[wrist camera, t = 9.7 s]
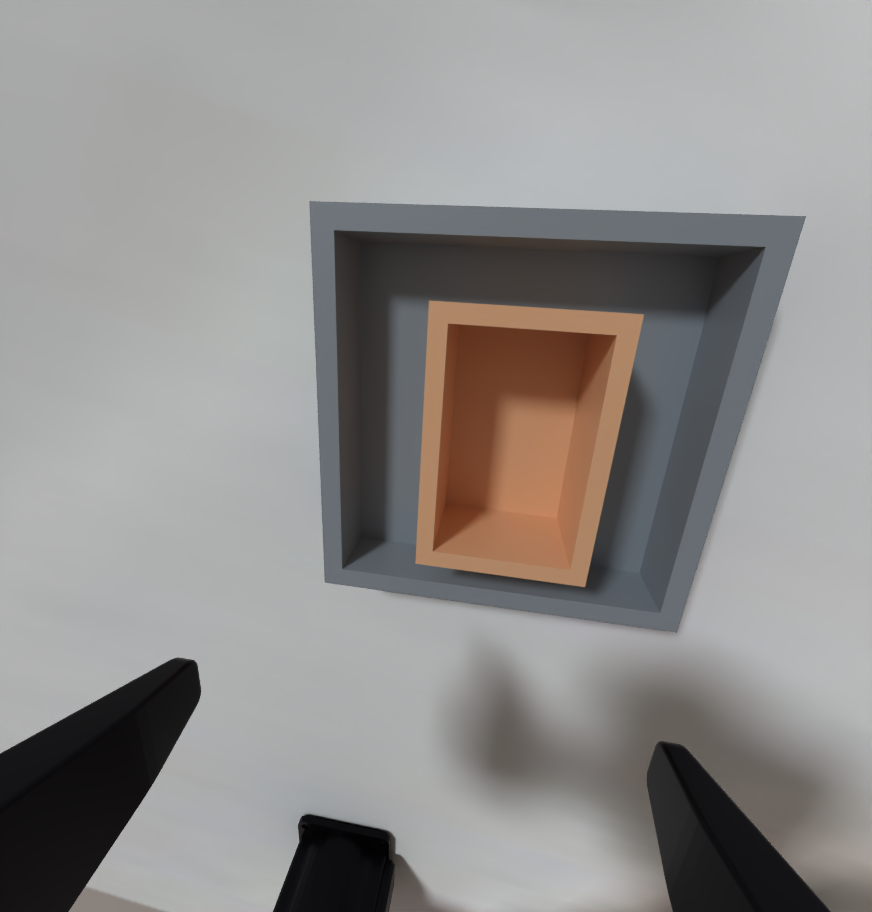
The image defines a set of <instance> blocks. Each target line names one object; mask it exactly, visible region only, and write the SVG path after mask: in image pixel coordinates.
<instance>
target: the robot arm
mask: <svg viewBox="0 0 872 912" xmlns="http://www.w3.org/2000/svg"><path fill="white" fill-rule="evenodd" d="M200 695H201V686H200V679H199V672H198V665H197V663H196V662H195V661H194V660H190V659H185V658H174V659H171V660H169V661H168V662H166V663H164V664H162V665H160V666H159V667H157V668H155V669H153V670H151V671H149V672H148V673H146V674H144V675H142V676H140V677H139V678H137V679H135V680H133V681H131V682H129V683H128V684H126V685H124V686H122V687H120V688H119V689H117V690H115V691H113V692H111V693H109V694H108V695H106V696H104V697H102V698H100V699H99V700H97V701H95V702H93V703H91V704H89V705H88V706H86V707H84V708H82V709H80V710H79V711H77V712H75V713H73V714H71V715H69V716H68V717H66V718H64V719H62V720H60V721H59V722H57V723H55V724H53V725H51V726H49V727H48V728H46V729H44V730H42V731H40V732H39V733H37V734H35V735H33V736H31V737H30V738H28V739H26V740H24V741H22V742H20V743H19V744H17V745H15V746H13V747H11V748H10V749H8V750H6V751H4V752H2V753H0V912H68V911H69V910H70V908H71V907H72V905H73V904H74V902H75V901H76V899H77V898H78V896H79V895H80V893H81V892H82V890H83V889H84V887H85V886H86V884H87V883H88V881H89V880H90V878H91V877H92V875H93V874H94V872H95V871H96V869H97V868H98V866H99V865H100V863H101V862H102V860H103V859H104V857H105V856H106V854H107V853H108V851H109V850H110V848H111V847H112V845H113V844H114V842H115V841H116V839H117V838H118V836H119V835H120V833H121V832H122V830H123V829H124V827H125V826H126V824H127V823H128V821H129V820H130V818H131V817H132V815H133V814H134V812H135V811H136V809H137V808H138V806H139V805H140V803H141V802H142V800H143V799H144V797H145V796H146V794H147V792H148V791H149V789H150V788H151V786H152V784H153V783H154V781H155V779H156V778H157V776H158V774H159V773H160V771H161V769H162V767H163V765H164V764H165V762H166V760H167V758H168V756H169V755H170V753H171V751H172V749H173V747H174V746H175V744H176V742H177V740H178V738H179V737H180V735H181V733H182V731H183V729H184V728H185V726H186V724H187V722H188V720H189V719H190V717H191V715H192V713H193V711H194V710H195V708H196V706H197V704H198V702H199V699H200ZM647 787H648V792H649V797H650V803H651V808H652V813H653V818H654V823H655V828H656V834H657V839H658V844H659V849H660V854H661V859H662V865H663V870H664V875H665V880H666V885H667V889H668V894H669V898H670V902H671V906H672V910H673V912H831V911H830V910H829V909H828V908H827V907H826V905H825V904H824V903H823V902H822V901H821V900H820V899H819V898H818V896H817V895H816V894H815V893H814V892H813V891H812V890H811V889H810V887H809V886H808V885H807V884H806V883H805V882H804V881H803V880H802V878H801V877H800V876H799V875H798V874H797V873H796V872H795V870H794V869H793V868H792V867H791V866H790V865H789V864H788V863H787V861H786V860H785V859H784V858H783V857H782V856H781V855H780V854H779V852H778V851H777V850H776V849H775V848H774V847H773V846H772V845H771V843H770V842H769V841H768V840H767V839H766V838H765V837H764V835H763V834H762V833H761V832H760V831H759V830H758V829H757V828H756V826H755V825H754V824H753V823H752V822H751V821H750V820H749V819H748V817H747V816H746V815H745V814H744V813H743V812H742V811H741V810H740V808H739V807H738V806H737V805H736V804H735V803H734V802H733V800H732V799H731V798H730V797H729V796H728V795H727V794H726V793H725V791H724V790H723V789H722V788H721V787H720V786H719V785H718V784H717V782H716V781H715V780H714V779H713V778H712V777H711V776H710V775H709V773H708V772H707V771H706V770H705V769H704V768H703V767H702V766H701V764H700V763H699V762H698V761H697V760H696V759H695V758H694V756H693V755H692V754H691V753H690V752H689V751H688V750H687V749H686V748H685V747H684V746H682V745H680V744H675V743H669V742H664V741H660V742H658V743H657V744H656V746H655V749H654V753H653V756H652V759H651V762H650V765H649V769H648V772H647ZM298 830H299V841H300V842H299V844H298V847H297V850H296V852H295V855H294V858H293V860H292V863H291V865H290V868H289V871H288V873H287V876H286V879H285V881H284V884H283V887H282V889H281V892H280V894H279V897H278V900H277V902H276V905H275V908H274V910H273V912H389V908H390V903H391V898H392V892H393V887H394V868H395V865H394V863H393V861H392V860H390V836H389V834H387V833H385V832H381V831H376V830H372V829H367V828H362V827H358V826H353V825H348V824H343V823H339V822H334V821H329V820H325V819H320V818H315V817H310V816H302V817H301V819H300V821H299V824H298Z"/></svg>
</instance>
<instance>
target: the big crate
mask: <svg viewBox="0 0 872 912" xmlns="http://www.w3.org/2000/svg"><path fill="white" fill-rule="evenodd" d="M309 202H310V227H311V252H312V276H313V301H314V326H315V350H316V375H317V400H318V424H319V449H320V474H321V498H322V523H323V548H324V573H325V582H326V583H333V584H340V585H347V586H354V587H361V588H368V589H375V590H382V591H389V592H396V593H403V594H410V595H417V596H424V597H431V598H438V599H445V600H452V601H459V602H466V603H473V604H480V605H487V606H494V607H501V608H508V609H515V610H522V611H529V612H536V613H543V614H550V615H557V616H564V617H571V618H578V619H585V620H592V621H599V622H606V623H613V624H620V625H627V626H634V627H641V628H648V629H655V630H662V631H669V632H677V630H678V627H679V624H680V620H681V617H682V614H683V611H684V608H685V604H686V601H687V598H688V595H689V591H690V588H691V585H692V582H693V579H694V575H695V572H696V569H697V566H698V562H699V559H700V556H701V553H702V550H703V546H704V543H705V540H706V537H707V533H708V530H709V527H710V524H711V521H712V517H713V514H714V511H715V508H716V504H717V501H718V498H719V495H720V492H721V488H722V485H723V482H724V479H725V475H726V472H727V469H728V466H729V463H730V459H731V456H732V453H733V450H734V446H735V443H736V440H737V437H738V434H739V430H740V427H741V424H742V421H743V417H744V414H745V411H746V408H747V405H748V401H749V398H750V395H751V392H752V388H753V385H754V382H755V379H756V376H757V372H758V369H759V366H760V363H761V359H762V356H763V353H764V350H765V347H766V343H767V340H768V337H769V334H770V330H771V327H772V324H773V321H774V318H775V314H776V311H777V308H778V305H779V301H780V298H781V295H782V292H783V289H784V285H785V282H786V279H787V276H788V272H789V269H790V266H791V263H792V260H793V256H794V253H795V250H796V247H797V243H798V240H799V237H800V234H801V231H802V227H803V224H804V221H805V218H806V216H775V215H742V214H709V213H676V212H644V211H611V210H578V209H545V208H512V207H480V206H447V205H414V204H381V203H348V202H316V201H309ZM429 301H444V302H459V303H475V304H491V305H506V306H522V307H538V308H553V309H569V310H584V311H600V312H616V313H631V314H644V317H643V322H642V326H641V331H640V336H639V340H638V345H637V349H636V354H635V359H634V363H633V368H632V373H631V377H630V382H629V386H628V391H627V396H626V400H625V405H624V410H623V414H622V419H621V423H620V428H619V433H618V437H617V442H616V446H615V451H614V456H613V460H612V465H611V470H610V474H609V479H608V483H607V488H606V493H605V497H604V502H603V507H602V511H601V516H600V520H599V525H598V530H597V534H596V539H595V544H594V548H593V553H592V557H591V562H590V567H589V571H588V576H587V581H586V585H585V587H580V586H573V585H566V584H558V583H551V582H544V581H537V580H530V579H522V578H515V577H508V576H501V575H493V574H486V573H479V572H472V571H465V570H457V569H450V568H443V567H436V566H428V565H421V564H415V561H416V542H417V523H418V503H419V484H420V465H421V445H422V426H423V407H424V388H425V368H426V349H427V330H428V310H429Z"/></svg>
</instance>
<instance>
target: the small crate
mask: <svg viewBox="0 0 872 912" xmlns="http://www.w3.org/2000/svg"><path fill="white" fill-rule="evenodd" d="M643 317H644V314H631V313H616V312H600V311H584V310H569V309H553V308H538V307H522V306H506V305H491V304H475V303H459V302H444V301H429V310H428V330H427V349H426V368H425V388H424V407H423V426H422V445H421V465H420V484H419V503H418V523H417V542H416V561H415V564H421V565H428V566H436V567H443V568H450V569H457V570H465V571H472V572H479V573H486V574H493V575H501V576H508V577H515V578H522V579H530V580H537V581H544V582H551V583H558V584H566V585H573V586H580V587H585V585H586V581H587V576H588V571H589V567H590V562H591V557H592V553H593V548H594V544H595V539H596V534H597V530H598V525H599V520H600V516H601V511H602V507H603V502H604V497H605V493H606V488H607V483H608V479H609V474H610V470H611V465H612V460H613V456H614V451H615V446H616V442H617V437H618V433H619V428H620V423H621V419H622V414H623V410H624V405H625V400H626V396H627V391H628V386H629V382H630V377H631V373H632V368H633V363H634V359H635V354H636V349H637V345H638V340H639V336H640V331H641V326H642V322H643Z"/></svg>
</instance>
